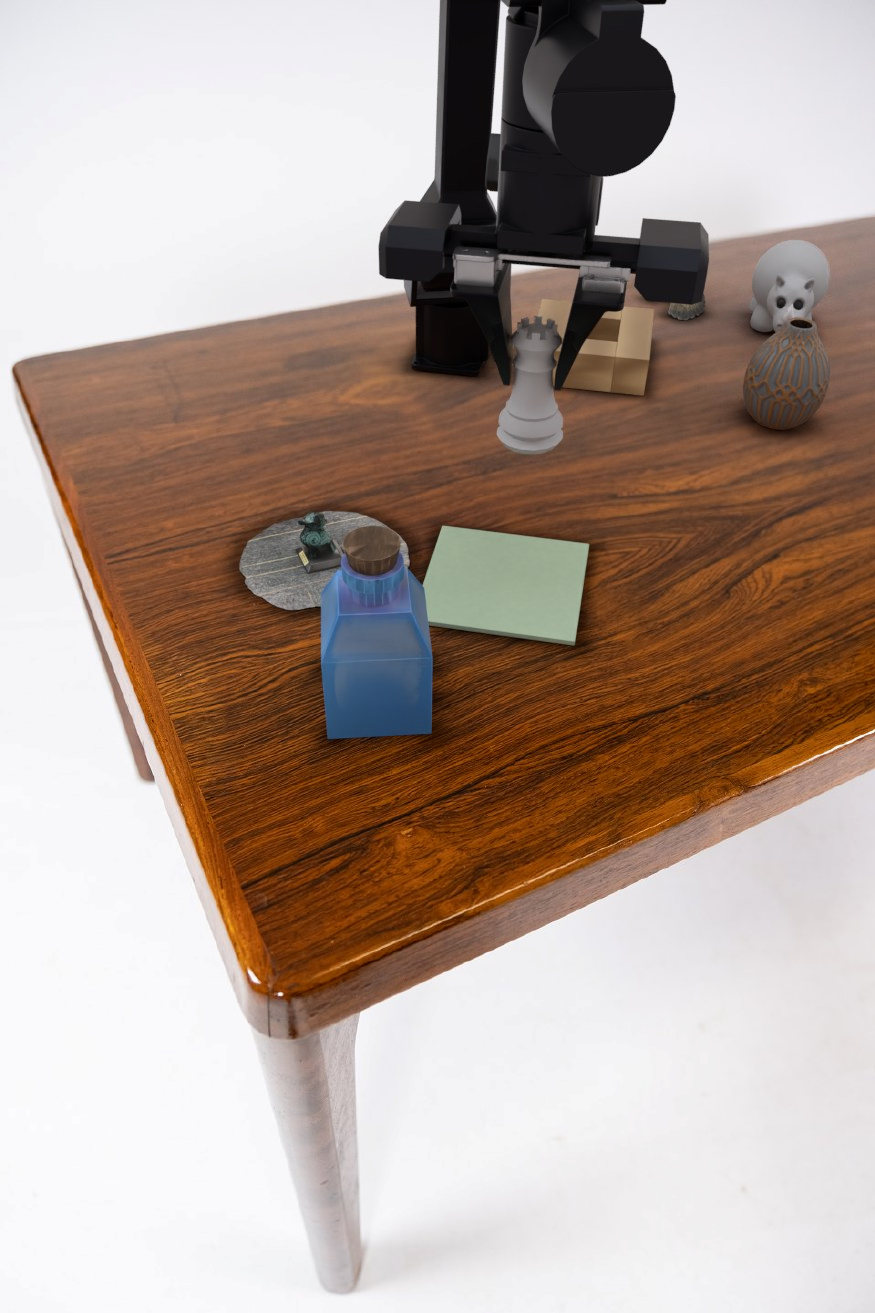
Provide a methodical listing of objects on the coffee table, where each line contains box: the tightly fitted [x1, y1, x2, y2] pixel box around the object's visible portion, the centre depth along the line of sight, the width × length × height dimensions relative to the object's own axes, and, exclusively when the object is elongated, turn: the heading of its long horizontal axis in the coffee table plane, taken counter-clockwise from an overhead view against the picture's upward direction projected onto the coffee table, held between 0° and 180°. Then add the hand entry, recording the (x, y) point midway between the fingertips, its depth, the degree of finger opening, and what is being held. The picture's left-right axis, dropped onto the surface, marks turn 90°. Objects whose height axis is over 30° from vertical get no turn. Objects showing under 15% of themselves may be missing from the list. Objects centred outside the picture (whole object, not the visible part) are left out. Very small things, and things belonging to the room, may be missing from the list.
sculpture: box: [238, 510, 411, 611], centre depth 73 cm, size 12×9×8 cm
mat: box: [421, 525, 590, 647], centre depth 71 cm, size 11×11×1 cm
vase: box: [742, 317, 831, 431], centre depth 86 cm, size 7×7×9 cm
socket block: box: [536, 298, 655, 397], centre depth 95 cm, size 11×11×4 cm
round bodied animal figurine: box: [749, 239, 831, 333], centre depth 98 cm, size 7×12×8 cm, turn 163°
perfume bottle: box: [320, 526, 434, 740], centre depth 59 cm, size 6×6×12 cm
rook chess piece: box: [496, 315, 564, 455], centre depth 65 cm, size 4×4×8 cm
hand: (532, 385), depth 65 cm, fingers closed on rook chess piece, 3 cm apart
